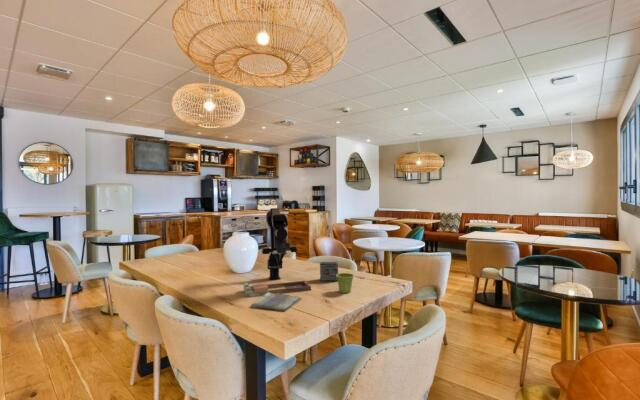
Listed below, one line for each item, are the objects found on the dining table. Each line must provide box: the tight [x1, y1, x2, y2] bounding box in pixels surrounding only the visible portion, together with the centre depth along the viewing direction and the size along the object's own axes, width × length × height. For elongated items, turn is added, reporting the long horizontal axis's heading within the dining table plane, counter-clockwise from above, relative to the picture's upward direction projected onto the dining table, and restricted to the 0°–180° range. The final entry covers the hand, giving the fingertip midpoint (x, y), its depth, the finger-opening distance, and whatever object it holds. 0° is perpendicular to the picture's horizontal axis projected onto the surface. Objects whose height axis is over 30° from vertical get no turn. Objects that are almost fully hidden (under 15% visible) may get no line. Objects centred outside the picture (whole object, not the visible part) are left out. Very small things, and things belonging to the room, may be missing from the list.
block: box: [251, 283, 269, 292], centre depth 166 cm, size 7×7×4 cm
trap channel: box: [243, 280, 312, 298], centre depth 170 cm, size 12×34×4 cm, turn 109°
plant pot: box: [336, 272, 355, 294], centre depth 166 cm, size 9×9×9 cm
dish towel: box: [250, 292, 302, 313], centre depth 150 cm, size 19×18×3 cm
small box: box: [319, 261, 339, 283], centre depth 189 cm, size 11×6×10 cm, turn 84°
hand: (279, 265), depth 173 cm, fingers closed
